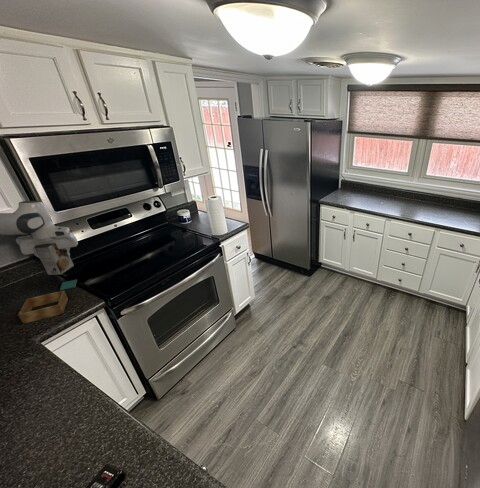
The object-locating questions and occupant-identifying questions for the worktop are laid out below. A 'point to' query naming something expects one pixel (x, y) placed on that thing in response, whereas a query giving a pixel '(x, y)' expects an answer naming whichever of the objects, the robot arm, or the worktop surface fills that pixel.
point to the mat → (68, 284)
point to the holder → (30, 316)
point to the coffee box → (54, 258)
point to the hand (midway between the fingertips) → (56, 257)
